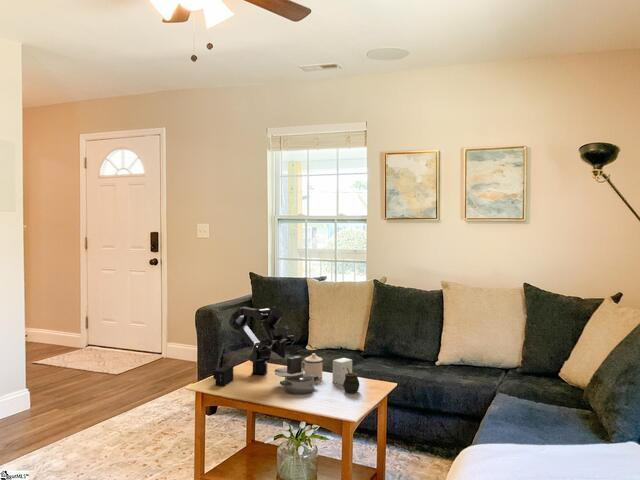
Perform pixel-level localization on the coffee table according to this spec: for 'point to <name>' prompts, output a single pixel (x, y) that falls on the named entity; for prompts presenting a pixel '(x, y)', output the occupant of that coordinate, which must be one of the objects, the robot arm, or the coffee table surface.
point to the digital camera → (223, 375)
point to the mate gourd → (351, 382)
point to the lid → (291, 368)
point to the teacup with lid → (313, 366)
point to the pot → (299, 384)
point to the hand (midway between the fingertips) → (284, 357)
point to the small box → (341, 369)
